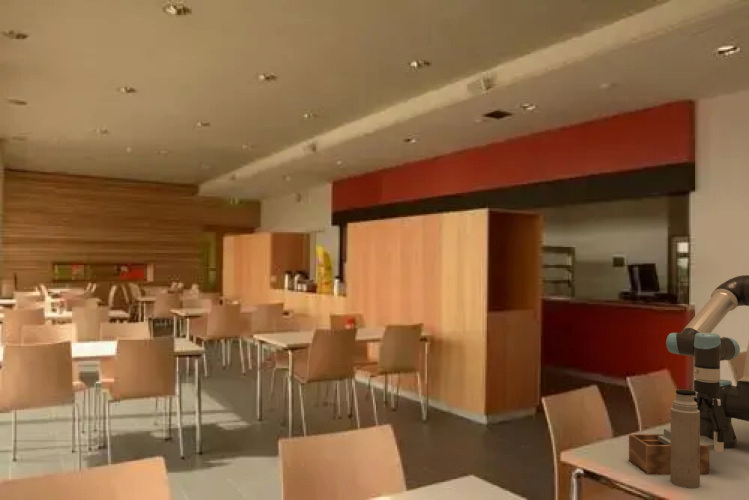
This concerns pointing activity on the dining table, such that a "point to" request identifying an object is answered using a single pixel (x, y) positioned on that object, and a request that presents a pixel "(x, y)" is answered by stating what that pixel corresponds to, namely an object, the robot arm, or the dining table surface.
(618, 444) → the dining table surface
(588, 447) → the dining table surface
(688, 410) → the thermos bottle
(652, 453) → the walnut box
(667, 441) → the slate lid
